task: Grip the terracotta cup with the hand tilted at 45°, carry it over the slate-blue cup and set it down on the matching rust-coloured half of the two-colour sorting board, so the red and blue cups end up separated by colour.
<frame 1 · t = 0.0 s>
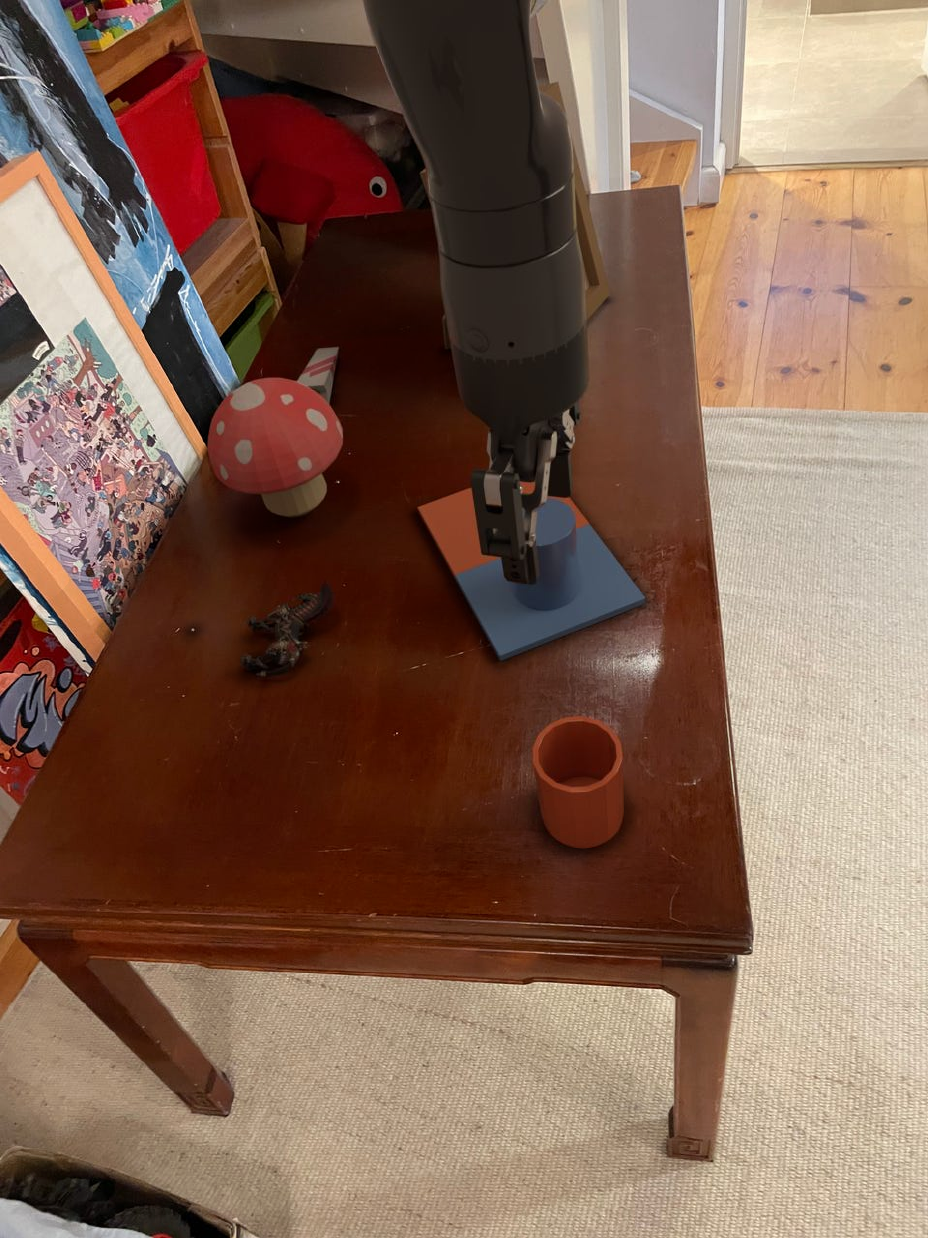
hand: (540, 534, 59), 18 cm above the table, tool pointing down, fingers open, 8 cm apart
red cup: (582, 811, 65), on the table
decorative mushroom: (301, 511, 94), on the table
photo frame: (518, 337, 110), on the table
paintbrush: (314, 407, 106), on the table
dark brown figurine: (262, 647, 81), on the table
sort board: (523, 554, 84), on the table
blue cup: (546, 585, 80), point 1 cm above the table, touching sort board
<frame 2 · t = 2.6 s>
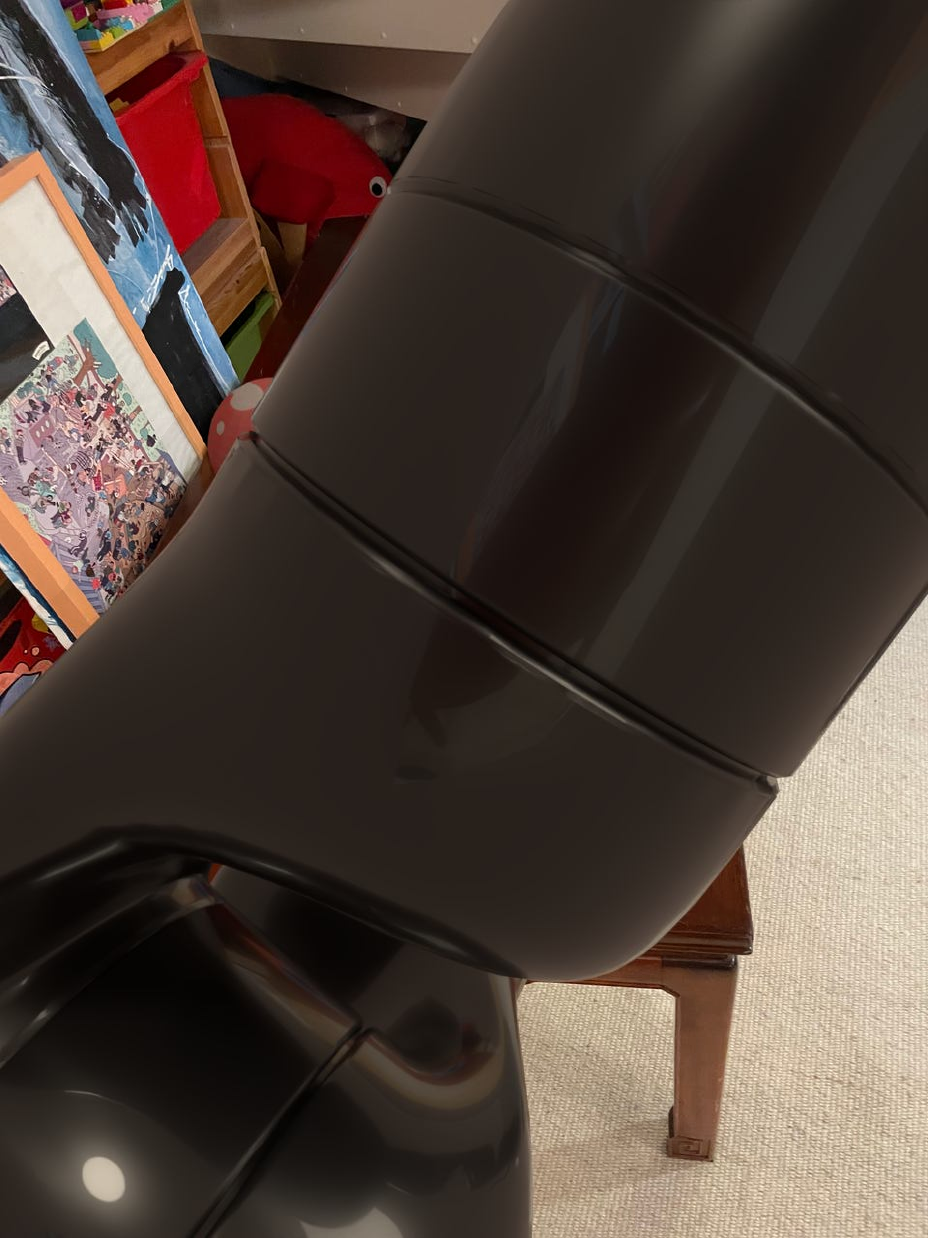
hand: (546, 762, 43), 22 cm above the table, tool tilted 40°, fingers open, 8 cm apart
nothing on the table moved.
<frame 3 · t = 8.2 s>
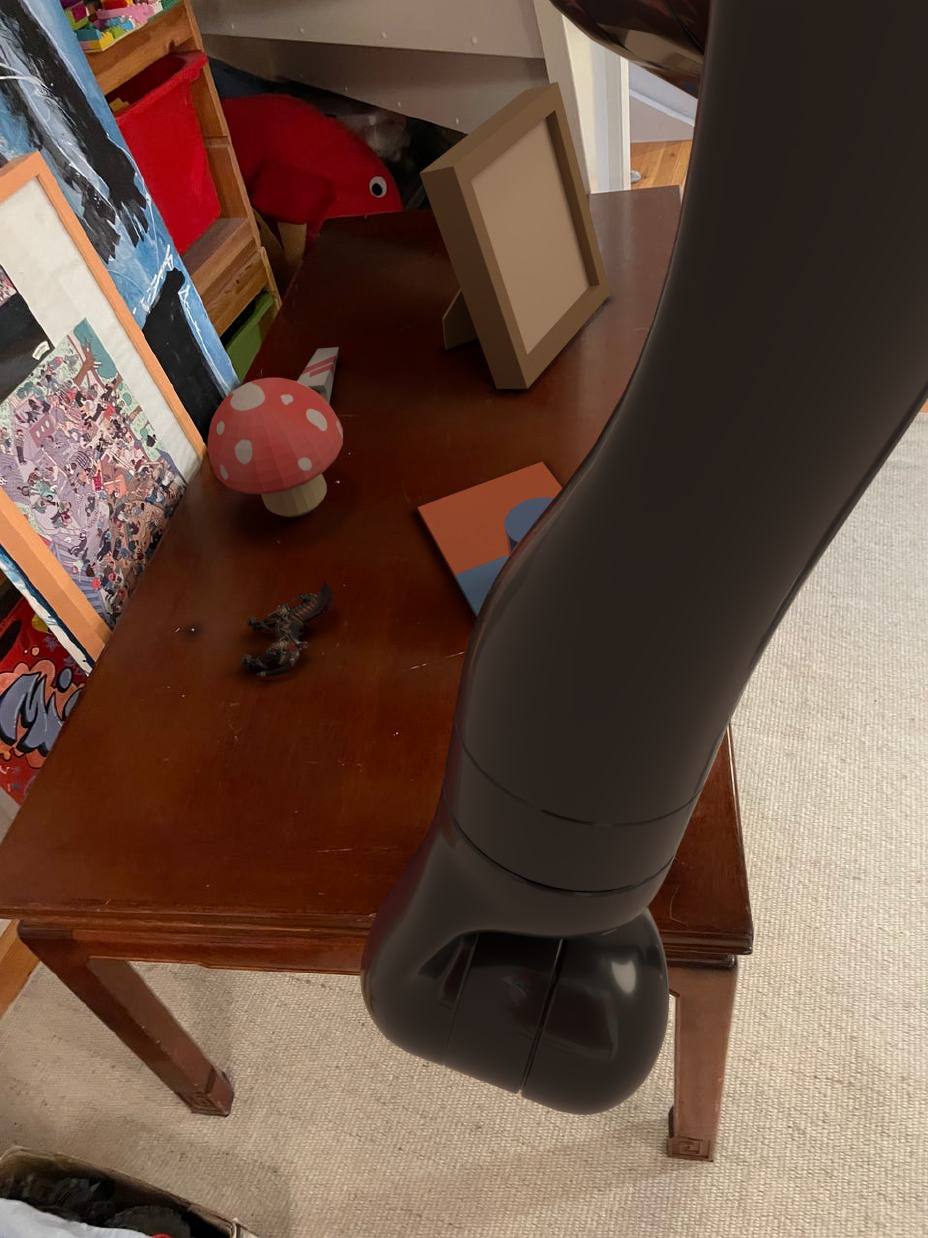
hand: (580, 760, 63), 4 cm above the table, tool tilted 45°, fingers closed on red cup, 6 cm apart
red cup: (582, 811, 65), on the table, touching gripper
everything else where it was.
when the fingers open (5 cm above the table, at t = 19.4 s): red cup stays where it is, resting on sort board.
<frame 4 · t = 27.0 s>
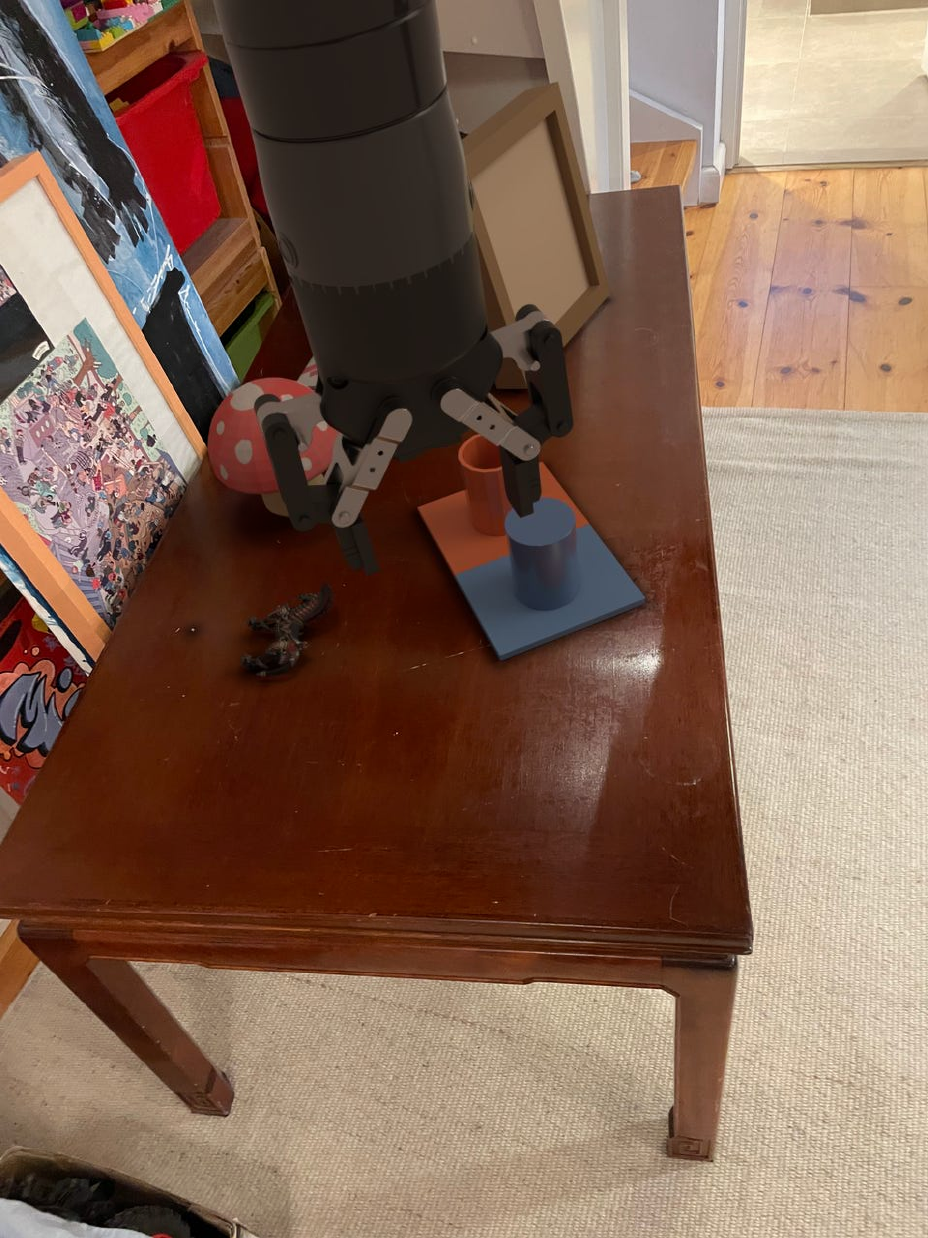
hand: (444, 535, 46), 28 cm above the table, tool pointing down, fingers open, 8 cm apart
red cup: (500, 515, 87), point 1 cm above the table, touching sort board
everything else where it was.
at the end: red cup inside the target area on the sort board (0.0 cm from its centre), point 0.8 cm above the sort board's base; red cup tilted 0°; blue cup inside the target area on the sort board (0.0 cm from its centre), point 0.8 cm above the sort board's base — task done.
